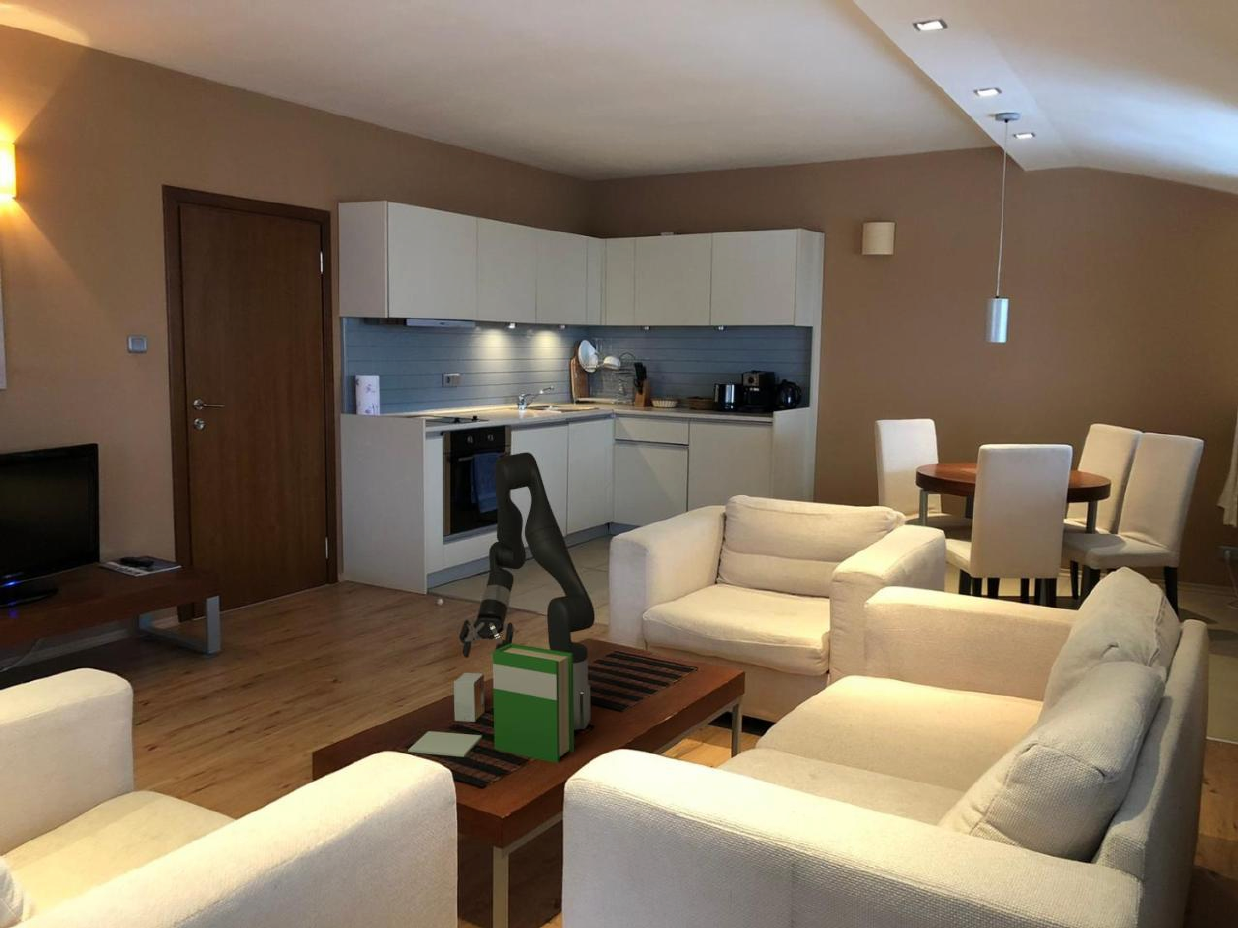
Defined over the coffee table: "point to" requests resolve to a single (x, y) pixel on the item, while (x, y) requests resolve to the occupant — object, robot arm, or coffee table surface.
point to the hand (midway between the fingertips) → (480, 657)
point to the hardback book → (533, 701)
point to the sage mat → (445, 743)
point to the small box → (469, 697)
